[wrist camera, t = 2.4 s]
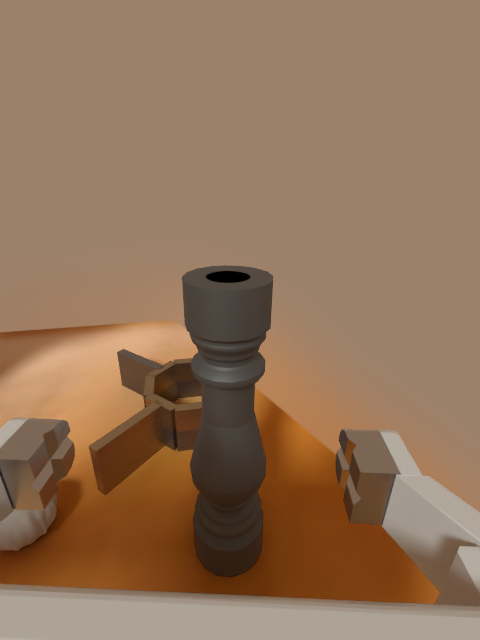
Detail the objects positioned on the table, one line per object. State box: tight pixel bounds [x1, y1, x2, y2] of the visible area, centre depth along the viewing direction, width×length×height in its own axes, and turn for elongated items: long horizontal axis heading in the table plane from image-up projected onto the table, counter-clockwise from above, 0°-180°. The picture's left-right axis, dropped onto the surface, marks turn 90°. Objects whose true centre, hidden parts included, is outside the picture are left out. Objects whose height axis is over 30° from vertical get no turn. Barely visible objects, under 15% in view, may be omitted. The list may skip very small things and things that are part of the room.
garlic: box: [0, 493, 57, 551], centre depth 30 cm, size 6×5×5 cm
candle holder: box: [182, 266, 273, 577], centre depth 25 cm, size 6×6×25 cm
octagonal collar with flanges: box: [89, 349, 202, 495], centre depth 44 cm, size 20×20×6 cm
